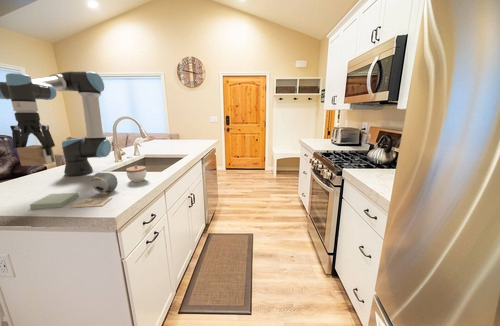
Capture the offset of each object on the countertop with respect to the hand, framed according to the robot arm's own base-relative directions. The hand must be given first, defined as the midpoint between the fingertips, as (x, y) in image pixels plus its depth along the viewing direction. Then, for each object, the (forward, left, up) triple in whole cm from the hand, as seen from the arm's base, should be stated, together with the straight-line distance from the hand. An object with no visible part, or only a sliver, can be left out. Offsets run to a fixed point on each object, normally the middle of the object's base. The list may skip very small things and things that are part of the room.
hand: (38, 162), depth 99 cm
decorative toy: (-4, +24, -18) cm, 30 cm away
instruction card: (+7, +24, -18) cm, 31 cm away
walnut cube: (0, 0, 0) cm, 0 cm away
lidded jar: (-24, +33, -18) cm, 44 cm away
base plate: (+4, +7, -18) cm, 20 cm away
